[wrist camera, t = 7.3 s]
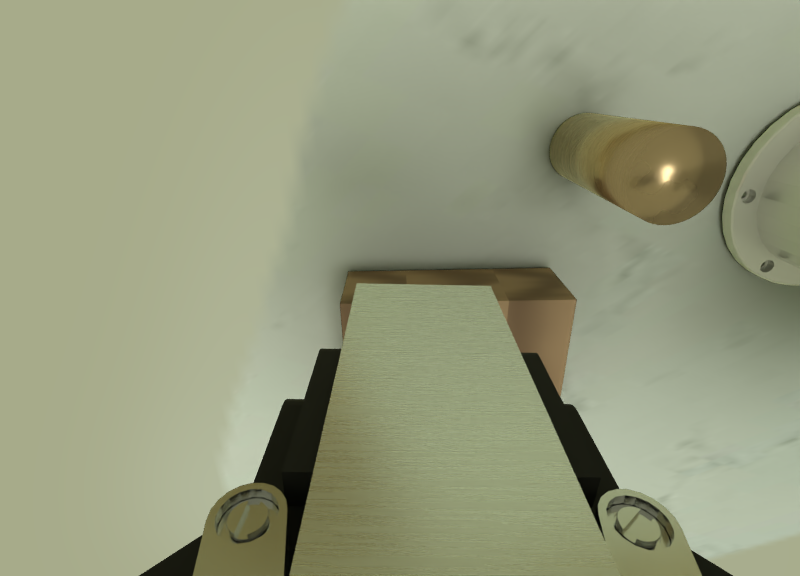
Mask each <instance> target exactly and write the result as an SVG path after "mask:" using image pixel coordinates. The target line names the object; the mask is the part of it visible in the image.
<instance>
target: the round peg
mask: <svg viewBox="0 0 800 576" xmlns="http://www.w3.org/2000/svg"><path fill="white" fill-rule="evenodd" d="M550 160H551V163H552V165H553V167H554V169H555V170H556V172H557V173H558V174H560V175H561V176H563V177H564V178H566V179H568V180H570V181H572V182H574V183H576V184H577V185H579V186H581V187H583V188H585V189H587V190H589V191H590V192H592V193H594V194H596V195H598V196H600V197H602V198H604V199H605V200H607V201H609V202H611V203H613V204H615V205H617V206H618V207H620V208H622V209H624V210H626V211H628V212H630V213H631V214H633V215H635V216H637V217H639V218H641V219H643V220H645V221H647V222H649V223H652V224H657V225H671V224H676V223H679V222H682V221H685V220H687V219H689V218H691V217H693V216H695V215H696V214H698V213H699V212H700V211H702V210H703V209H704V208H705V207H706V206H707V205H708V204H709V203H710V202H711V201H712V200H713V198H714V197H715V196H716V194H717V192H718V191H719V189H720V187H721V185H722V183H723V180H724V177H725V173H726V165H727V162H726V154H725V150H724V147H723V145H722V143H721V142H720V140H719V139H718V138H717V137H716V136H715V135H714V134H713V133H711V132H710V131H708V130H706V129H703V128H700V127H695V126H687V125H680V124H672V123H664V122H656V121H649V120H641V119H633V118H626V117H618V116H610V115H603V114H595V113H582V114H578V115H575V116H573V117H571V118H569V119H568V120H566V121H565V122H564V123H563V124H562V125H561V126H560V127H559V128H558V129H557V131H556V132H555V134H554V136H553V138H552V141H551V145H550Z"/></svg>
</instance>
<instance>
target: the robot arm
mask: <svg viewBox="0 0 800 576" xmlns="http://www.w3.org/2000/svg"><path fill="white" fill-rule="evenodd" d="M722 222H723V234H724V237H725V240H726V244H727V247H728V249H729V250H730V252H731V254H732V255H733V257H734V258H735V260H736V261H737V262H738V263H740V264H741V265H742V266H743V267H744V268H745V269H746V270H748V271H750V272H752V273H753V274H755V275H757V276H759V277H761V278H763V279H766V280H768V281H771V282H773V283H777V284H783V285H789V286H799V285H800V105H799V106H797V107H795V108H793V109H792V110H790V111H789V112H788V113H786V114H785V115H784V116H782V117H781V118H780V119H779V120H777V121H776V122H775V123H774V124H772V125H771V126H770V127H769V128H768V129H767V130H766V131H765V132H764V133H763V134H762V135H761V136H760V137H759V138H758V139H757V140H756V141H755V143H754V144H753V145H752V147H751V148H750V149H749V151H748V152H747V153H746V155H745V156H744V158H743V159H742V160H741V162H740V164H739V166H738V168H737V170H736V171H735V173H734V175H733V177H732V179H731V182H730V184H729V187H728V190H727V193H726V196H725V200H724V207H723V214H722ZM340 353H341V349H320V351H319V354H318V357H317V360H316V363H315V366H314V370H313V373H312V376H311V379H310V382H309V386H308V389H307V392H306V395H305V398H304V399H286V400H285V401H284V403H283V405H282V408H281V411H280V413H279V416H278V419H277V421H276V424H275V427H274V429H273V432H272V435H271V437H270V440H269V443H268V445H267V448H266V451H265V454H264V456H263V459H262V462H261V464H260V467H259V470H258V472H257V475H256V478H255V480H254V483H250V484H246V485H242V486H239V487H237V488H235V489H233V490H231V491H229V492H227V493H226V494H225V495H224V496H223V497H221V498H220V499H219V500H218V501H217V502H216V503H215V505H214V506H213V507H212V508H211V510H210V512H209V514H208V517H207V520H206V523H205V527H204V531H203V535H202V536H200V537H198V538H197V539H195V540H194V541H192V542H191V543H189V544H188V545H186V546H185V547H183V548H181V549H180V550H178V551H177V552H175V553H174V554H172V555H171V556H169V557H167V558H166V559H164V560H163V561H161V562H160V563H158V564H157V565H155V566H153V567H152V568H150V569H149V570H147V571H146V572H144V573H143V574H141V575H140V576H289V574H290V570H291V566H292V561H293V557H294V553H295V548H296V544H297V540H298V535H299V531H300V527H301V522H302V518H303V514H304V509H305V505H306V501H307V496H308V492H309V488H310V483H311V479H312V475H313V470H314V466H315V462H316V457H317V453H318V449H319V444H320V440H321V436H322V431H323V427H324V423H325V418H326V414H327V410H328V405H329V401H330V397H331V392H332V388H333V384H334V379H335V375H336V371H337V366H338V362H339V358H340ZM520 353H521V355H522V357H523V359H524V361H525V364H526V366H527V368H528V370H529V373H530V375H531V377H532V379H533V382H534V384H535V386H536V388H537V391H538V393H539V395H540V397H541V399H542V402H543V404H544V406H545V408H546V411H547V413H548V415H549V417H550V420H551V422H552V424H553V426H554V428H555V431H556V433H557V435H558V437H559V440H560V442H561V444H562V446H563V449H564V451H565V453H566V455H567V458H568V460H569V462H570V464H571V466H572V469H573V471H574V473H575V475H576V478H577V480H578V482H579V484H580V487H581V489H582V491H583V493H584V495H585V498H586V500H587V502H588V504H589V507H590V509H591V511H592V513H593V516H594V518H595V520H596V522H597V524H598V527H599V529H600V531H601V533H602V536H603V538H604V540H605V542H606V545H607V547H608V549H609V551H610V554H611V556H612V558H613V560H614V562H615V565H616V567H617V569H618V571H619V574H620V576H733V575H731V574H729V573H727V572H726V571H724V570H723V569H721V568H720V567H718V566H716V565H715V564H713V563H711V562H710V561H708V560H707V559H705V558H703V557H702V556H700V555H698V554H697V553H695V552H693V551H692V550H691V549H690V547H689V544H688V542H687V540H686V537H685V535H684V533H683V530H682V528H681V527H680V525H679V523H678V522H677V520H676V518H675V517H674V516H673V515H672V514H671V513H670V512H669V511H668V510H667V509H666V508H665V507H664V506H663V505H661V504H660V503H659V502H657V501H656V500H654V499H653V498H651V497H649V496H647V495H644V494H642V493H640V492H636V491H632V490H629V489H619V487H618V485H617V484H616V482H615V480H614V478H613V476H612V474H611V472H610V471H609V469H608V467H607V465H606V463H605V461H604V459H603V458H602V456H601V454H600V452H599V450H598V448H597V447H596V445H595V443H594V441H593V439H592V437H591V435H590V434H589V432H588V430H587V428H586V426H585V424H584V423H583V421H582V419H581V417H580V415H579V413H578V411H577V410H576V408H575V407H574V406H573V405H571V404H563V402H562V400H561V398H560V396H559V394H558V392H557V390H556V388H555V386H554V384H553V382H552V380H551V378H550V376H549V374H548V372H547V370H546V368H545V366H544V364H543V362H542V360H541V358H540V357H539V355H538V353H522V352H520Z"/></svg>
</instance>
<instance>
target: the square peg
mask: <svg viewBox="0 0 800 576" xmlns="http://www.w3.org/2000/svg"><path fill="white" fill-rule="evenodd" d="M289 576H620V574H619V571H618V569H617V567H616V565H615V562H614V560H613V558H612V556H611V554H610V551H609V549H608V547H607V545H606V542H605V540H604V538H603V536H602V533H601V531H600V529H599V527H598V524H597V522H596V520H595V518H594V516H593V513H592V511H591V509H590V507H589V504H588V502H587V500H586V498H585V495H584V493H583V491H582V489H581V487H580V484H579V482H578V480H577V478H576V475H575V473H574V471H573V469H572V466H571V464H570V462H569V460H568V458H567V455H566V453H565V451H564V449H563V446H562V444H561V442H560V440H559V437H558V435H557V433H556V431H555V428H554V426H553V424H552V422H551V420H550V417H549V415H548V413H547V411H546V408H545V406H544V404H543V402H542V399H541V397H540V395H539V393H538V391H537V388H536V386H535V384H534V382H533V379H532V377H531V375H530V373H529V370H528V368H527V366H526V364H525V361H524V359H523V357H522V355H521V353H520V350H519V348H518V346H517V344H516V341H515V339H514V337H513V335H512V332H511V330H510V328H509V326H508V324H507V321H506V319H505V317H504V315H503V312H502V310H501V308H500V306H499V303H498V301H497V299H496V297H495V295H494V292H493V290H492V288H491V286H468V285H416V284H365V283H357V284H356V288H355V293H354V297H353V301H352V306H351V310H350V314H349V319H348V323H347V327H346V332H345V336H344V340H343V345H342V349H341V353H340V358H339V362H338V366H337V371H336V375H335V379H334V384H333V388H332V392H331V397H330V401H329V405H328V410H327V414H326V418H325V423H324V427H323V431H322V436H321V440H320V444H319V449H318V453H317V457H316V462H315V466H314V470H313V475H312V479H311V483H310V488H309V492H308V496H307V501H306V505H305V509H304V514H303V518H302V522H301V527H300V531H299V535H298V540H297V544H296V548H295V553H294V557H293V561H292V566H291V570H290V574H289Z"/></svg>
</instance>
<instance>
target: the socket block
mask: <svg viewBox="0 0 800 576" xmlns="http://www.w3.org/2000/svg"><path fill="white" fill-rule="evenodd" d="M357 283H365V284H416V285H468V286H491V288H492V290H493V292H494V295H495V297H496V299H497V301H498V303H499V306H500V308H501V310H502V312H503V315H504V317H505V319H506V321H507V324H508V326H509V328H510V330H511V332H512V335H513V337H514V339H515V341H516V344H517V346H518V348H519V350H520V352H522V353H538V355H539V357H540V358H541V360H542V362H543V364H544V366H545V368H546V370H547V372H548V374H549V376H550V378H551V380H552V382H553V384H554V386H555V388H556V390H557V392H558V394H559V396H561V390H562V384H563V378H564V372H565V366H566V360H567V354H568V348H569V342H570V336H571V331H572V325H573V319H574V313H575V307H576V301H577V299H576V298H575V297H574V296H573V295H572V294H571V292H570V291H569V290H568V289H567V288H566V286H565V285H564V284H563V283H562V282H561V281H560V279H559V278H558V277H557V276H556V275H555V273H554V272H553V271H552V270H551V269H550V268H518V269H462V270H407V271H352V272H348V275H347V279H346V283H345V287H344V290H343V294H342V298H341V302H340V311H341V323H342V335H343V340H344V336H345V332H346V327H347V323H348V319H349V314H350V310H351V306H352V301H353V297H354V293H355V288H356V284H357Z"/></svg>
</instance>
